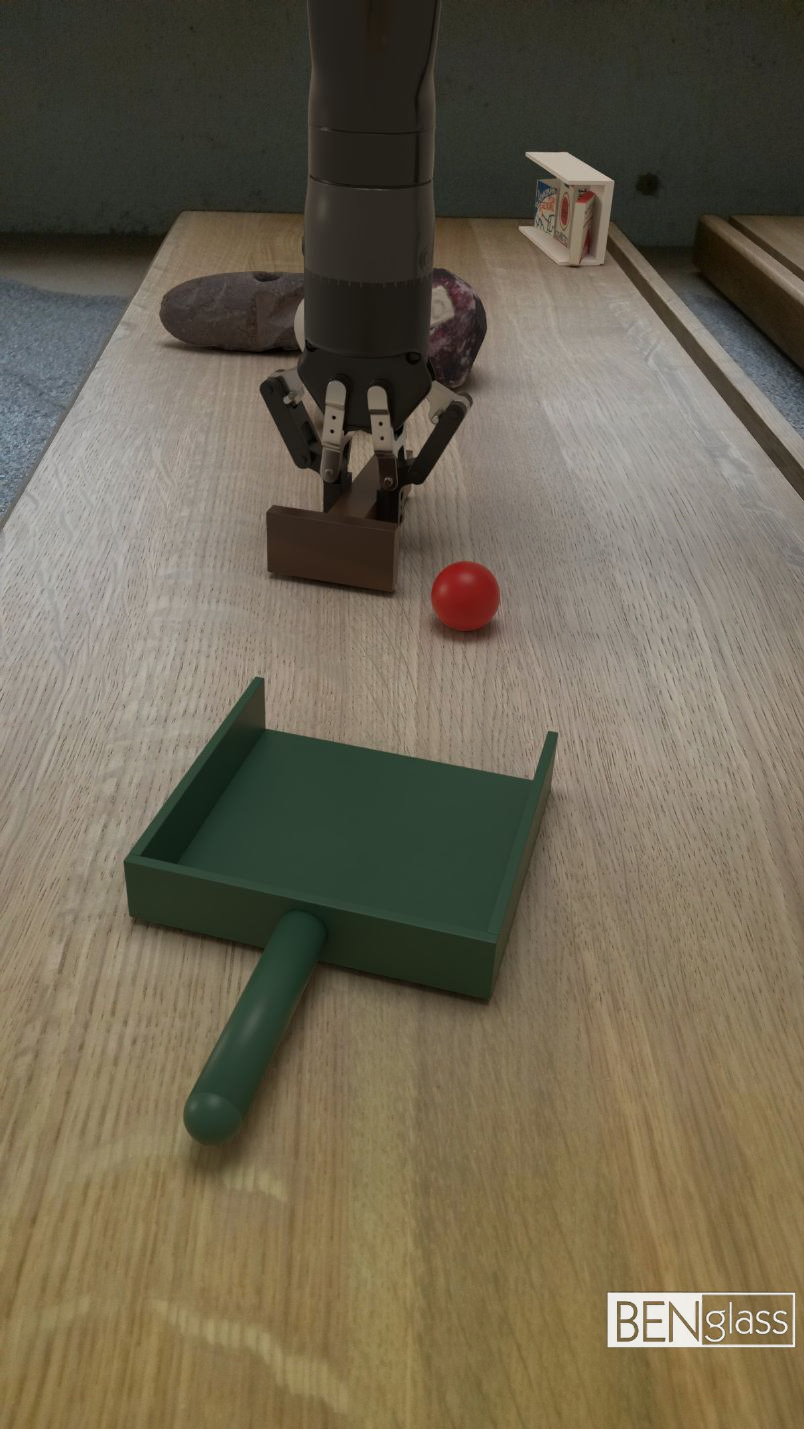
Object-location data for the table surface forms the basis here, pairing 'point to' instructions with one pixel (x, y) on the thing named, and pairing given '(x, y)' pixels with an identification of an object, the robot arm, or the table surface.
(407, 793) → the dustpan
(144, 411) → the table surface
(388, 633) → the table surface
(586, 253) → the cigarette display
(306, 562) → the wooden t-shaped pusher
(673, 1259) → the table surface
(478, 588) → the red billiard ball
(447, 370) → the mineral specimen
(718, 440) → the table surface
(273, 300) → the perforated stone tool
